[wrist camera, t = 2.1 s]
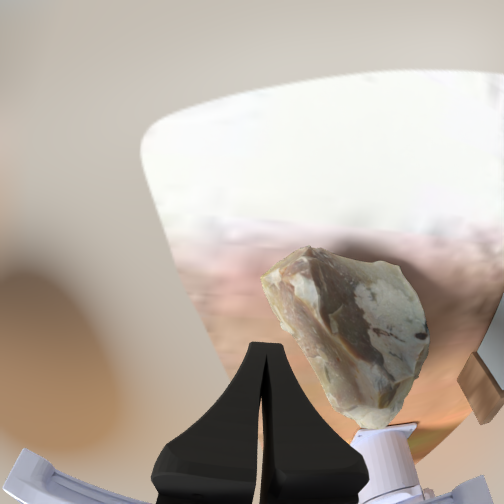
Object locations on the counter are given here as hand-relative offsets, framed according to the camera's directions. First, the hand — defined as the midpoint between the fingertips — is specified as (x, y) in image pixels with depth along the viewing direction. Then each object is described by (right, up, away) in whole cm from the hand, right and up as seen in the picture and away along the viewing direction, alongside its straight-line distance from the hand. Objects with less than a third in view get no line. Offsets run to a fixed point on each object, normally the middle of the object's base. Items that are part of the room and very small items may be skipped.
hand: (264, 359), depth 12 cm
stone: (+11, -1, +4) cm, 11 cm away
